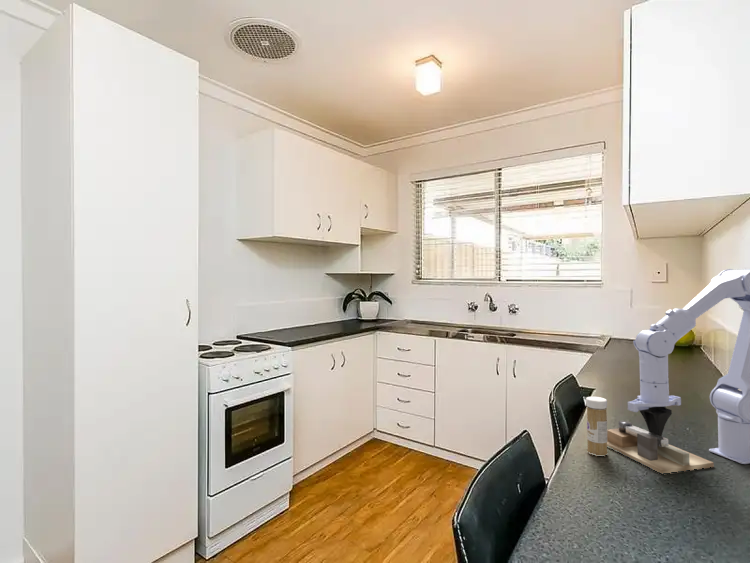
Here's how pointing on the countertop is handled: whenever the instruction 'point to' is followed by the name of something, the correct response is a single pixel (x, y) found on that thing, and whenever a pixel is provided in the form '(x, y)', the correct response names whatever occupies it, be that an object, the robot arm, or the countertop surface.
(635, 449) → the wooden base plank
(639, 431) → the bar
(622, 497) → the countertop surface
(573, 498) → the countertop surface
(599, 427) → the sprinkles bottle
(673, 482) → the countertop surface
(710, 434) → the countertop surface
